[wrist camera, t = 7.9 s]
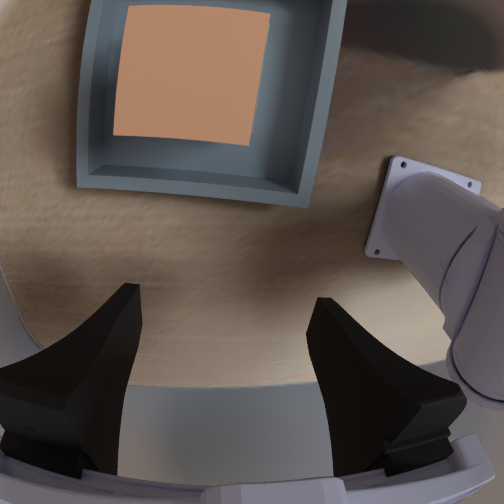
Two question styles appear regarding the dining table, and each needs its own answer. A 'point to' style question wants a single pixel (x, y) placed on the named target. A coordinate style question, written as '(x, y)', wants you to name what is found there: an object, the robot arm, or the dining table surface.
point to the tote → (215, 153)
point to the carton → (190, 72)
